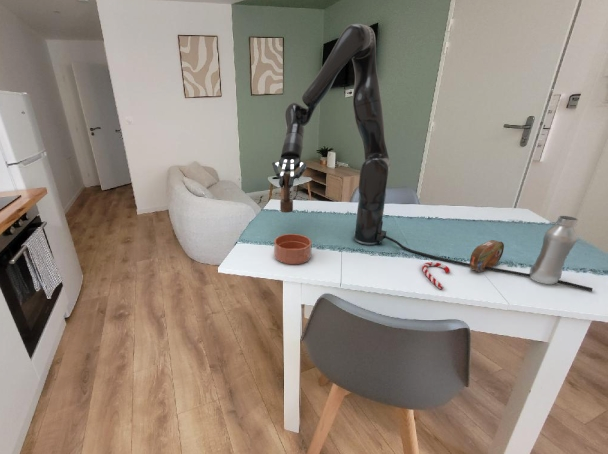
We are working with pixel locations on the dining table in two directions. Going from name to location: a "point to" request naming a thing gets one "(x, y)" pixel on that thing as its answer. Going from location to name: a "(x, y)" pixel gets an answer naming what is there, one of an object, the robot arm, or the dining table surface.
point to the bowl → (292, 248)
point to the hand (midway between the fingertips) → (285, 186)
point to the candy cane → (431, 275)
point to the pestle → (286, 196)
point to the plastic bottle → (554, 251)
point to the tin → (486, 255)
